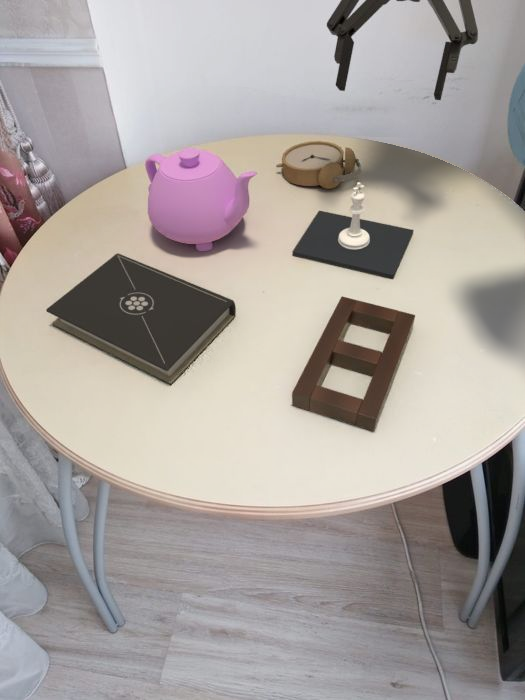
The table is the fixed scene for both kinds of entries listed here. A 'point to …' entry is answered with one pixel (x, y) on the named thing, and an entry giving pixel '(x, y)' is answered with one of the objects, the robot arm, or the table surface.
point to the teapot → (195, 197)
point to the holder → (354, 363)
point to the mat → (371, 259)
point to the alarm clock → (318, 164)
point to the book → (143, 316)
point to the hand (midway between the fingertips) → (387, 92)
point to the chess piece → (355, 224)
